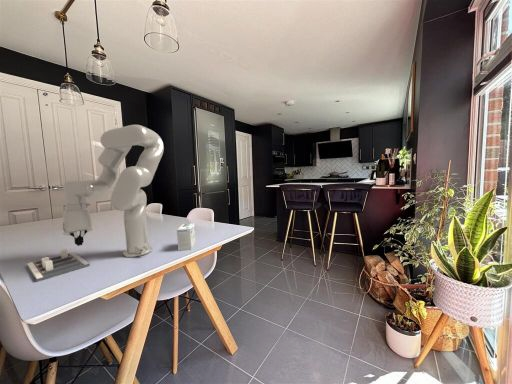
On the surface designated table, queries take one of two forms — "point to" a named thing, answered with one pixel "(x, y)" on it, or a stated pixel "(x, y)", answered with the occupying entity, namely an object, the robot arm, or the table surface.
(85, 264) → the switch board
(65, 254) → the tab
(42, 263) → the tab
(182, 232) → the light bulb box
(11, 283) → the table surface
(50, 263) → the tab
